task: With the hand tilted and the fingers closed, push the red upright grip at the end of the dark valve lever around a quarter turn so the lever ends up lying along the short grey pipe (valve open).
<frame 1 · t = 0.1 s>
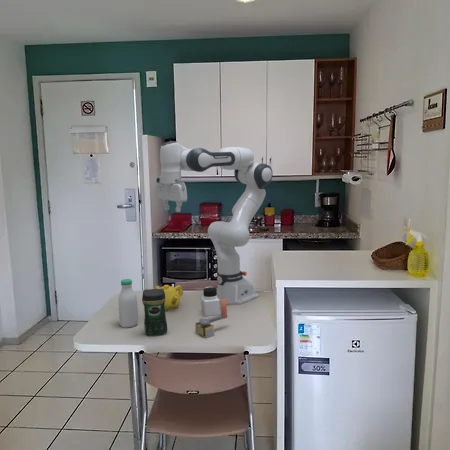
hand: (172, 210, 189), 48 cm above the table, tool pointing down, fingers open, 8 cm apart
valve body: (204, 333, 175), on the table
coffee jar: (155, 332, 177), on the table
milk bottle: (129, 324, 186), on the table
teapot: (167, 308, 205), on the table
lever: (213, 311, 176), point 8 cm above the table, hinge at 0.0°
medicine bottle: (210, 313, 197), on the table
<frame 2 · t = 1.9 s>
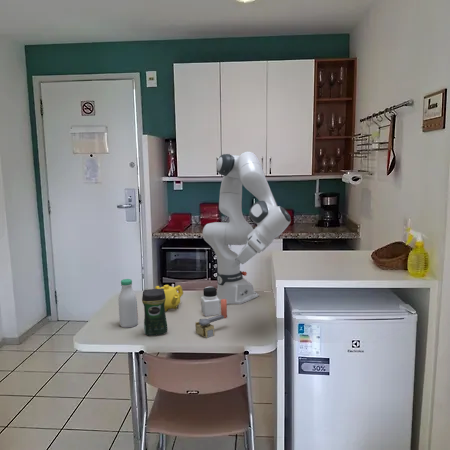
hand: (234, 263, 175), 28 cm above the table, tool tilted 45°, fingers open, 8 cm apart
nothing on the table moved.
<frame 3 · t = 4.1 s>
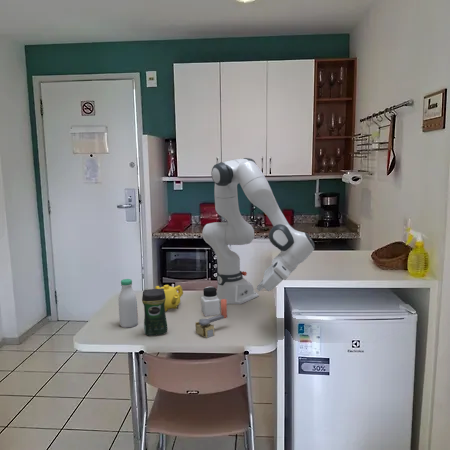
hand: (257, 288, 175), 17 cm above the table, tool tilted 45°, fingers closed
nothing on the table moved.
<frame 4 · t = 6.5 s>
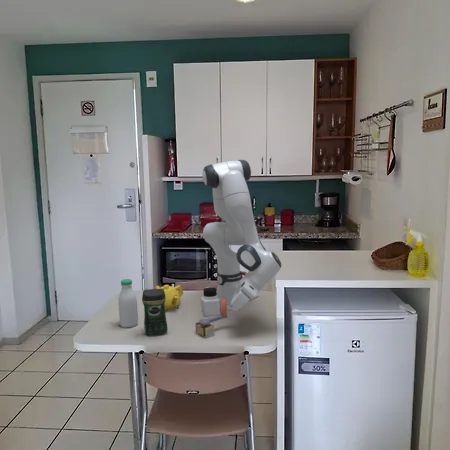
hand: (227, 307, 179), 9 cm above the table, tool tilted 45°, fingers closed, pressing on lever
lever: (213, 311, 176), point 8 cm above the table, hinge at 0.3°, touching gripper
everything else where it was.
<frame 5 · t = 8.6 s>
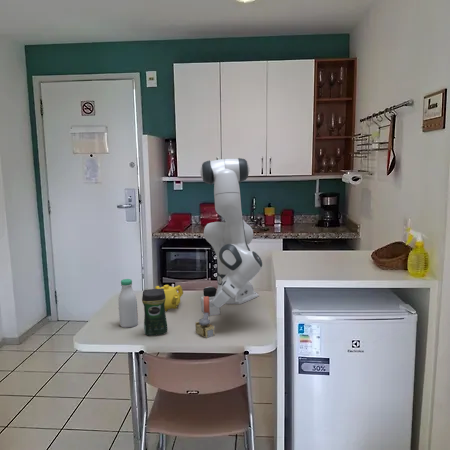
hand: (210, 305, 184), 8 cm above the table, tool tilted 45°, fingers closed, pressing on lever
lever: (205, 310, 178), point 8 cm above the table, hinge at 49.9°, touching gripper
everything else where it was.
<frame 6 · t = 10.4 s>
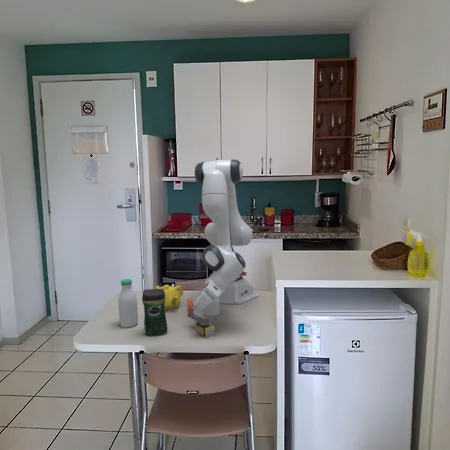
hand: (194, 307, 181), 8 cm above the table, tool tilted 45°, fingers closed on lever
lever: (197, 311, 177), point 8 cm above the table, hinge at 91.6°, touching gripper
everything else where it was.
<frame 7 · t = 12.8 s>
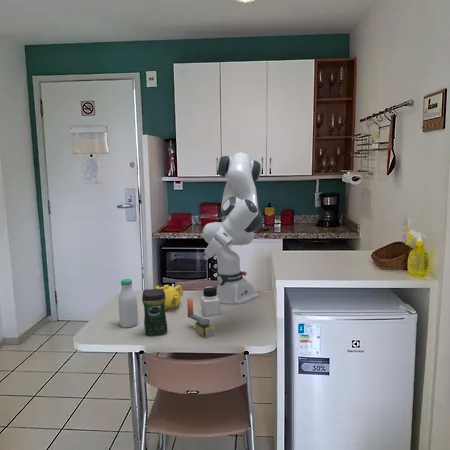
hand: (205, 258, 177), 30 cm above the table, tool tilted 40°, fingers closed
lever: (197, 311, 177), point 8 cm above the table, hinge at 91.7°
everything else where it was.
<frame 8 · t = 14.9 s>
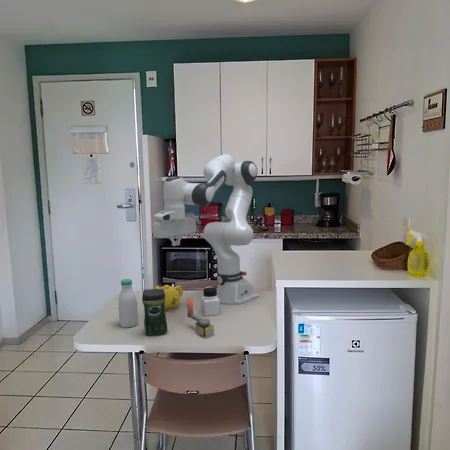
hand: (175, 245, 187), 33 cm above the table, tool pointing down, fingers closed
nothing on the table moved.
at the end: lever at +92° (first picture: +0°) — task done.
